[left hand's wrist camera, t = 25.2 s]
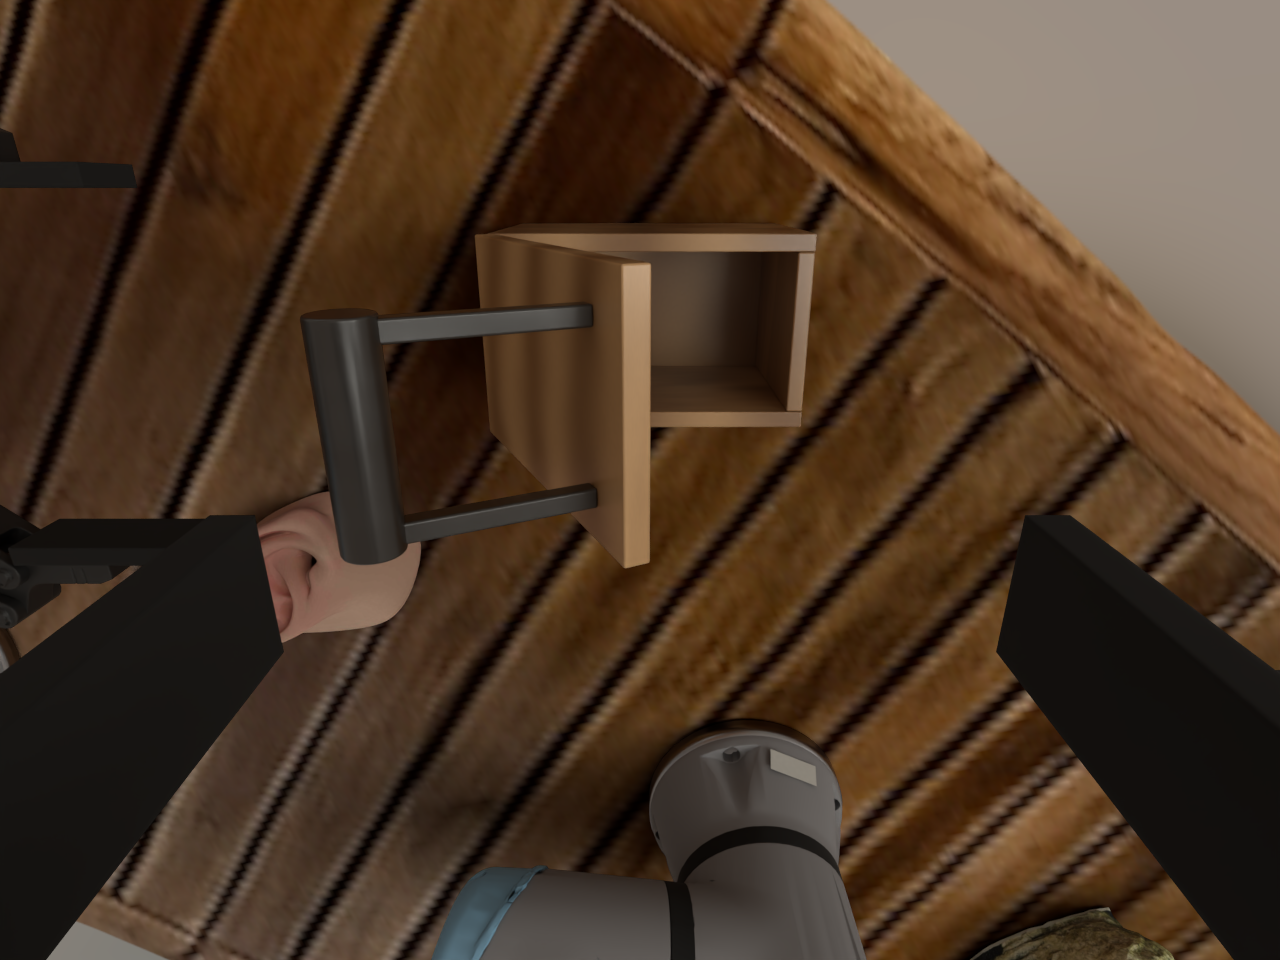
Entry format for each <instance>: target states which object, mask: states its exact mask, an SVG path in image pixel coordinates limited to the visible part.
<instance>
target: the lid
mask: <svg viewBox="0 0 1280 960" xmlns="http://www.w3.org/2000/svg"><path fill="white" fill-rule="evenodd" d="M475 244H476V257H477V269H478V282H479V295H480V307H481V308H479V309H464V310H449V311H434V312H419V313H404V314H389V315H378V313H377V312H376V311H373V310H369V309H355V308H348V309H329V310H320V311H314V312H309V313H306V314H304V315H302V316H301V317H300V322H301V328H302V334H303V340H304V346H305V352H306V358H307V364H308V369H309V375H310V381H311V387H312V393H313V399H314V405H315V411H316V417H317V423H318V428H319V434H320V440H321V446H322V452H323V458H324V464H325V470H326V476H327V482H328V487H329V493H330V499H331V505H332V511H333V517H334V523H335V529H336V535H337V541H338V547H339V552H340V556H341V558H342V559H343V560H344V561H345V562H347V563H350V564H354V565H374V564H380V563H384V562H388V561H390V560H393V559H395V558H397V557H399V556H401V555H402V554H403V553H404V552H405V551H406V550H407V547H408V544H411V543H416V542H421V541H426V540H431V539H437V538H442V537H447V536H452V535H457V534H462V533H468V532H473V531H478V530H483V529H488V528H494V527H499V526H504V525H509V524H514V523H520V522H525V521H530V520H535V519H540V518H546V517H551V516H556V515H561V514H566V513H571V514H572V515H573V516H574V517H575V518H576V519H577V520H578V521H579V522H580V523H581V524H582V525H583V526H584V527H585V528H586V529H587V531H588V532H589V533H590V534H591V535H592V536H593V537H594V538H595V539H596V540H597V541H598V542H599V543H600V544H601V545H602V546H603V547H604V548H605V549H606V550H607V551H608V552H609V553H610V554H611V555H612V556H613V557H614V558H615V559H616V560H617V561H618V562H619V563H620V564H621V565H622V566H623V567H624V568H629V567H633V566H637V565H641V564H646V563H649V561H650V388H651V264H650V263H649V262H644V261H638V260H633V259H627V258H622V257H616V256H611V255H605V254H600V253H594V252H589V251H583V250H578V249H572V248H567V247H561V246H556V245H551V244H545V243H540V242H534V241H529V240H523V239H518V238H512V237H507V236H501V235H496V234H476V235H475ZM470 337H483V345H484V358H485V371H486V383H487V396H488V409H489V421H490V431H491V432H492V433H493V435H494V436H495V437H496V438H497V439H498V440H499V441H500V442H501V443H502V444H503V445H504V446H505V447H506V448H507V449H508V450H509V451H510V452H511V453H512V454H513V455H514V456H515V457H516V458H517V459H518V460H519V461H520V462H521V463H522V464H523V465H524V466H525V467H526V468H527V469H528V470H529V471H530V472H531V473H532V474H533V475H534V476H535V477H536V478H537V479H538V480H539V481H540V483H541V484H542V485H543V486H544V487H545V488H546V489H547V490H545V491H539V492H533V493H528V494H522V495H516V496H511V497H505V498H499V499H494V500H488V501H482V502H477V503H471V504H465V505H460V506H454V507H448V508H443V509H437V510H431V511H426V512H420V513H414V514H409V515H404V509H403V501H402V493H401V486H400V478H399V470H398V463H397V455H396V447H395V440H394V432H393V424H392V417H391V409H390V401H389V393H388V386H387V378H386V370H385V363H384V355H383V347H382V345H386V344H398V343H410V342H422V341H434V340H446V339H458V338H470Z"/></svg>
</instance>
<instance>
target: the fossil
mask: <svg viewBox="0 0 1280 960" xmlns="http://www.w3.org/2000/svg"><path fill="white" fill-rule="evenodd" d="M970 960H1174V958H1173V956H1172V954H1171V953H1170V952H1169V951H1168V950H1167V949H1165V948H1164V947H1162V946H1161V945H1159V944H1158V943H1156V942H1154V941H1152V940H1150V939H1147V938H1145V937H1143V936H1142V935H1140V934H1139V933H1137V932H1133V931H1130V930H1127V929H1125V928H1123V927H1122V926H1121V924H1120V923H1119V922H1118V921H1117V920H1116V919H1115V918H1114V917H1113V915H1112V913H1111V911H1110V909H1109V907H1108V908H1100V909H1092V910H1088V911H1086V912H1083V913H1079V914H1074V915H1071V916H1067V917H1064V918H1061V919H1058V920H1054V921H1049V922H1047V923H1046V924H1044V925H1043V926H1038V927H1033V928H1029V929H1026V930H1024V931H1021V932H1019V933H1017V934H1014V935H1012V936H1009V937H1007V938H1004V939H1002V940H1000V941H998V942H996V943H994V944H992V945H990V946H988V947H987V948H985V949H983V950H982V951H981V952H979V953H978V954H977V955H975V956H974V957H973V958H971V959H970Z"/></svg>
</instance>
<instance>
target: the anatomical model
mask: <svg viewBox="0 0 1280 960" xmlns="http://www.w3.org/2000/svg"><path fill="white" fill-rule="evenodd" d="M257 528H258V533H259V538H260V542H261V547H262V552H263V556H264V561H265V566H266V571H267V575H268V580H269V585H270V589H271V594H272V599H273V604H274V608H275V613H276V618H277V622H278V627H279V632H280V636H281V641H282V643H283V642H285V641H287V640H290V639H292V638H294V637H296V636H298V635H300V634H301V633H310V632H330V631H341V630H350V629H358V628H364V627H369V626H373V625H377V624H380V623H383V622H385V621H387V620H388V619H390V618H392V617H393V616H394V615H395V614H396V613H397V612H398V611H399V610H400V609H401V608H402V606H403V605H404V603H405V602H406V600H407V598H408V596H409V594H410V592H411V590H412V587H413V584H414V581H415V578H416V575H417V571H418V567H419V562H420V555H421V544H420V542H416V543H411V544H408V547H407V550H406V551H405V552H404V553H403V554H402V555H401V556H399V557H397V558H395V559H393V560H390V561H388V562H384V563H380V564H374V565H354V564H350V563H347V562H345V561H344V560H343V559H342V558H341V556H340V552H339V547H338V541H337V535H336V529H335V523H334V517H333V511H332V505H331V499H330V493H329V492H322V493H318V494H314V495H311V496H309V497H306V498H303V499H301V500H298V501H296V502H294V503H292V504H289V505H287V506H285V507H283V508H281V509H279V510H277V511H275V512H274V513H272V514H270V515H269V516H267V517H265V518H264V519H263V520H262V521H260V522H259V523H258V524H257Z"/></svg>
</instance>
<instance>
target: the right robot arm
mask: <svg viewBox="0 0 1280 960" xmlns="http://www.w3.org/2000/svg"><path fill="white" fill-rule="evenodd" d="M0 188H137V184H136V180H135V176H134V172H133V167H132V165H128V164H109V163H89V162H20V158H19V155H18V151H17V148H16V144H15V141H14V137H13V134H12V133H11V132H8V131H6V130H3V129H1V128H0ZM203 520H204V519H58V520H57V521H55V522H53V523H51V524H50V525H48V526H46V527H44V528H42V529H39V528H38V527H36V526H34V525H33V524H31V523H29V522H28V521H26V520H24V519H23V518H21V517H19V516H18V515H16V514H15V513H13V512H11V511H10V510H8V509H6V508H5V507H3V506H1V505H0V673H2V672H3V671H4V670H6V669H7V668H8V667H10V666H11V665H12V664H14V663H15V662H16V661H18V660H19V659H20V658H19V655H18V652H17V649H16V647H15V644H14V642H13V640H12V638H11V637H10V635H9V633H8V632H7V630H6V629H7V628H12V627H14V626H15V625H17V624H18V623H20V622H21V621H22V620H24V619H25V618H27V617H28V616H30V615H31V614H33V613H34V612H36V611H37V610H38V609H40V608H41V607H43V606H44V605H46V604H47V603H48V602H50V601H51V600H53V599H54V598H55V597H57V596H58V595H59V594H60V592H61V585H60V584H75V583H77V584H85V583H88V584H101V583H104V582H106V581H109V580H111V579H113V578H114V577H116V576H117V575H118V574H120V573H121V572H122V571H124V570H125V569H127V568H128V567H129V566H143V565H145V564H146V563H147V562H149V561H150V560H151V559H153V558H154V557H155V556H157V555H158V554H159V553H161V552H162V551H163V550H165V549H166V548H167V547H169V546H170V545H171V544H173V543H174V542H175V541H177V540H178V539H179V538H181V537H182V536H183V535H185V534H186V533H187V532H188V531H190V530H191V529H192V528H194V527H195V526H196V525H198V524H199V523H200V522H202V521H203ZM8 553H10V555H9V554H8Z"/></svg>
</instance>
